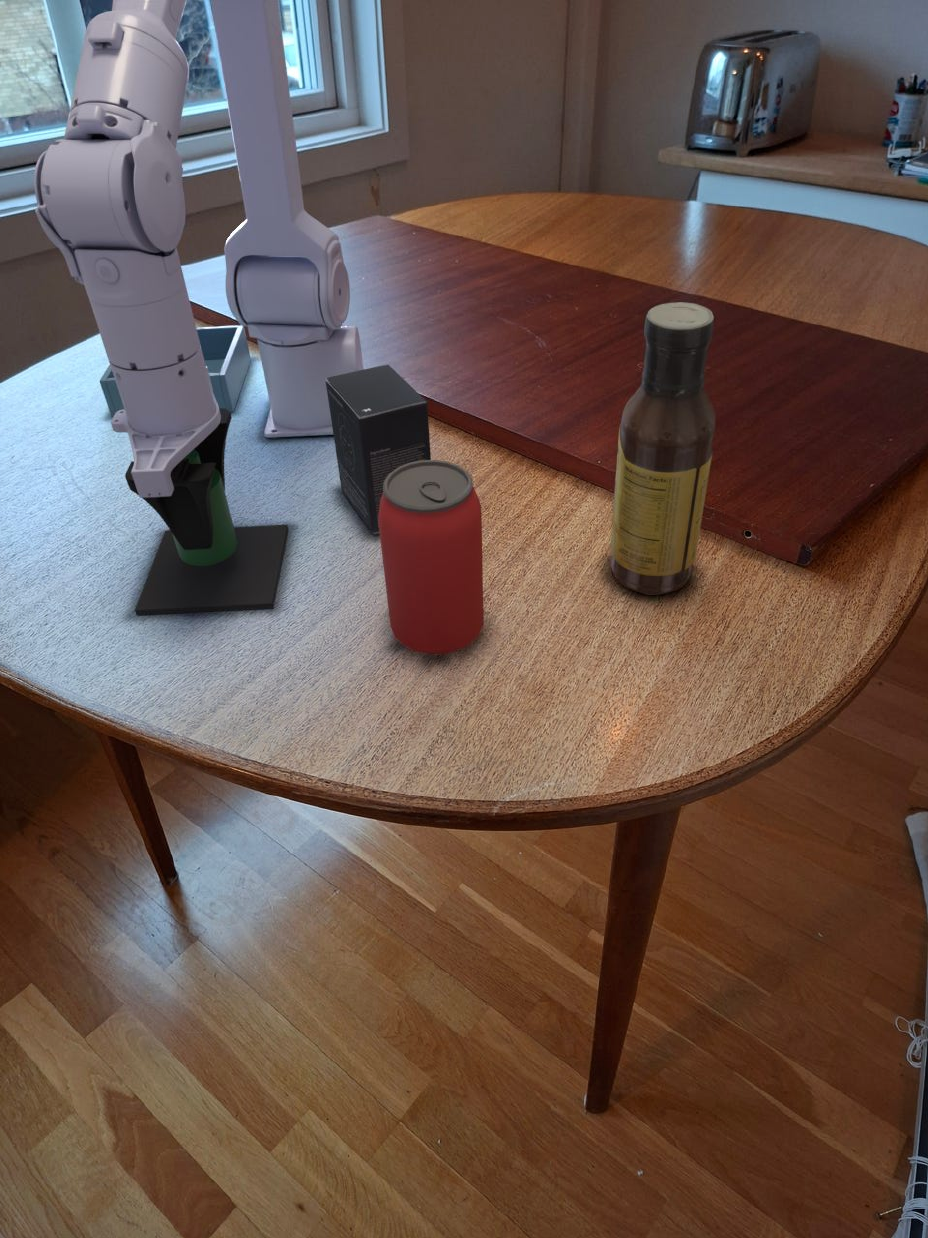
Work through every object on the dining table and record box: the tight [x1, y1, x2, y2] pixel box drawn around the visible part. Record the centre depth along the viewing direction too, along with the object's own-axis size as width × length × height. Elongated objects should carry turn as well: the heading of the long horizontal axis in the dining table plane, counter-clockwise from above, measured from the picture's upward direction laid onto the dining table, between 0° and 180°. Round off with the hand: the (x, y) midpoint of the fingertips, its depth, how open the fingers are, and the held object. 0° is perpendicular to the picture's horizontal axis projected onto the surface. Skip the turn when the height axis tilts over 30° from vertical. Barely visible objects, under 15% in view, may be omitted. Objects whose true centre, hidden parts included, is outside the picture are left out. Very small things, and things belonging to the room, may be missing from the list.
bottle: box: [172, 449, 238, 566], centre depth 62 cm, size 4×4×8 cm
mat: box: [134, 524, 289, 616], centre depth 65 cm, size 10×10×1 cm
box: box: [325, 363, 432, 535], centre depth 68 cm, size 8×6×11 cm
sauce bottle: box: [609, 301, 717, 596], centre depth 57 cm, size 6×6×20 cm
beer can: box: [378, 459, 485, 656], centre depth 56 cm, size 7×7×12 cm
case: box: [99, 324, 252, 419], centre depth 88 cm, size 12×12×4 cm
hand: (204, 526), depth 63 cm, fingers closed on bottle, 4 cm apart
